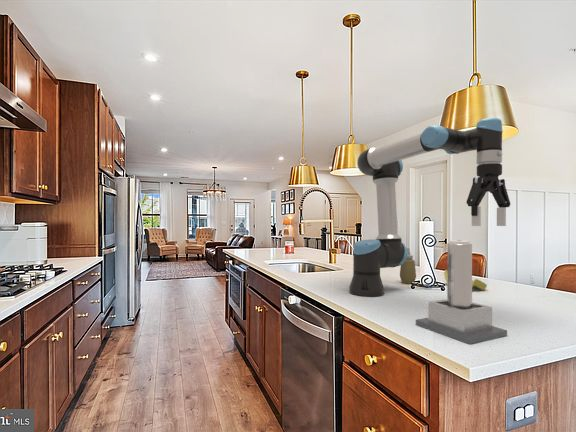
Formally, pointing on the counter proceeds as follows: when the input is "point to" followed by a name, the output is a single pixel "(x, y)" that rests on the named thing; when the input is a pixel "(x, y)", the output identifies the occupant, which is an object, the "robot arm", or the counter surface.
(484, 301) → the counter surface
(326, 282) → the counter surface
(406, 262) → the squeeze bottle
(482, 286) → the banana
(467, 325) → the plate
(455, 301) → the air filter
